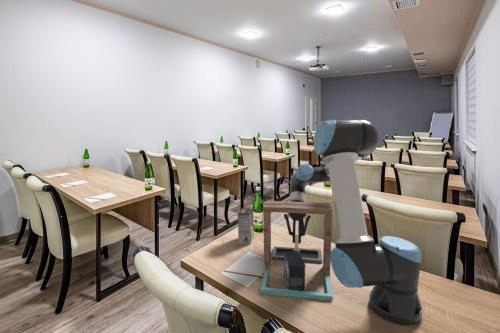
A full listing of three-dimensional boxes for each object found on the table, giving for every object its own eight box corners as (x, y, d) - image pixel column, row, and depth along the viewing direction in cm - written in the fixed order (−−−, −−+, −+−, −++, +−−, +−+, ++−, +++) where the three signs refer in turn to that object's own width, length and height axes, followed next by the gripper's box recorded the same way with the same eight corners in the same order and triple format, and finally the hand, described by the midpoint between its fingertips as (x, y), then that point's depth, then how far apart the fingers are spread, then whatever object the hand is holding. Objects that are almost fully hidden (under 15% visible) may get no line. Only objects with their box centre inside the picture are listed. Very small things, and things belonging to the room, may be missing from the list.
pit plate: (322, 263, 116) (322, 260, 115) (271, 259, 120) (271, 256, 119) (320, 251, 125) (320, 249, 125) (273, 248, 129) (273, 246, 129)
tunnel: (329, 278, 105) (332, 209, 100) (264, 272, 109) (263, 206, 105) (327, 267, 112) (330, 203, 108) (266, 262, 117) (265, 200, 112)
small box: (283, 275, 107) (283, 250, 105) (299, 274, 107) (299, 250, 106) (287, 291, 97) (288, 265, 95) (305, 291, 97) (306, 264, 95)
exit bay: (332, 300, 92) (332, 296, 91) (260, 293, 96) (260, 289, 96) (328, 278, 104) (328, 275, 104) (265, 273, 109) (265, 269, 108)
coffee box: (242, 236, 144) (241, 207, 141) (254, 237, 143) (253, 208, 140) (238, 243, 135) (237, 213, 132) (250, 244, 134) (250, 214, 131)
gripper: (310, 206, 134) (311, 253, 120) (284, 205, 136) (282, 251, 123) (311, 199, 128) (312, 248, 114) (283, 198, 130) (281, 246, 117)
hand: (296, 250), depth 119 cm, fingers closed
